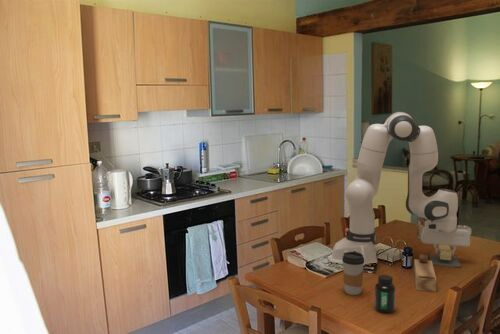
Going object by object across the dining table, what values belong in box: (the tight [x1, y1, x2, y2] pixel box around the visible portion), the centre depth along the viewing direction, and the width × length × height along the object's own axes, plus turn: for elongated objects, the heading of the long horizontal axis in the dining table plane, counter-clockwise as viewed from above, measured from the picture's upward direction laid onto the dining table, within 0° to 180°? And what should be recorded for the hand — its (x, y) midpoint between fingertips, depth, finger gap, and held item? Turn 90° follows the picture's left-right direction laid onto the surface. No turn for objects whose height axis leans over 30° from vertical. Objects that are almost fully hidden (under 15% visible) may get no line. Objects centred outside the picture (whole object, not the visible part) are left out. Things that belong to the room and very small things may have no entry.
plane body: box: [413, 253, 437, 293], centre depth 173 cm, size 7×20×8 cm, turn 162°
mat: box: [428, 253, 462, 269], centre depth 193 cm, size 12×12×1 cm
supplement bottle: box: [374, 274, 396, 314], centre depth 150 cm, size 7×7×12 cm
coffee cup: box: [342, 252, 364, 296], centre depth 164 cm, size 8×8×15 cm
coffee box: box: [416, 216, 428, 240], centre depth 221 cm, size 9×6×16 cm
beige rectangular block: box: [437, 244, 452, 260], centre depth 192 cm, size 4×9×4 cm, turn 162°
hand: (444, 253), depth 192 cm, fingers closed on beige rectangular block, 4 cm apart
